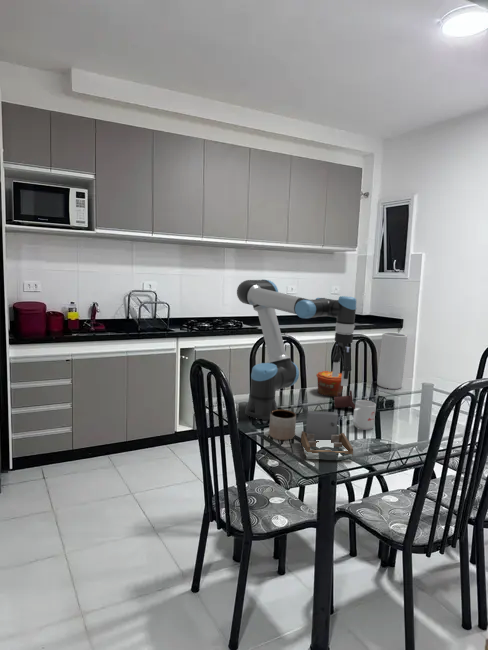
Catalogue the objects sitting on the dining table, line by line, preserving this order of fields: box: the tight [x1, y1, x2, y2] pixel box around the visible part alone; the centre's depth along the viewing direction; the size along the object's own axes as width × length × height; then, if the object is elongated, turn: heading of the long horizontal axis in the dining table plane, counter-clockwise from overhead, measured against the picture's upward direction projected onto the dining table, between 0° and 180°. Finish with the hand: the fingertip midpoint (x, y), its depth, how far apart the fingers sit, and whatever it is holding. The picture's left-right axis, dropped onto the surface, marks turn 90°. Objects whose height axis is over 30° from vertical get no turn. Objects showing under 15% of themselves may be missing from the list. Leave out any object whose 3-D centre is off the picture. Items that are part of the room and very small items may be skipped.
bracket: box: [333, 390, 369, 410], centre depth 227 cm, size 6×17×10 cm, turn 79°
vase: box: [376, 331, 408, 390], centre depth 271 cm, size 14×14×32 cm
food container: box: [316, 370, 344, 398], centre depth 252 cm, size 16×16×11 cm
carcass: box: [300, 430, 354, 455], centre depth 177 cm, size 17×15×5 cm
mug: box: [352, 399, 377, 431], centre depth 203 cm, size 12×9×11 cm
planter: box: [268, 408, 297, 441], centre depth 190 cm, size 11×11×10 cm
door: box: [305, 410, 339, 441], centre depth 186 cm, size 12×4×12 cm, turn 91°
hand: (339, 381), depth 198 cm, fingers open, 13 cm apart
